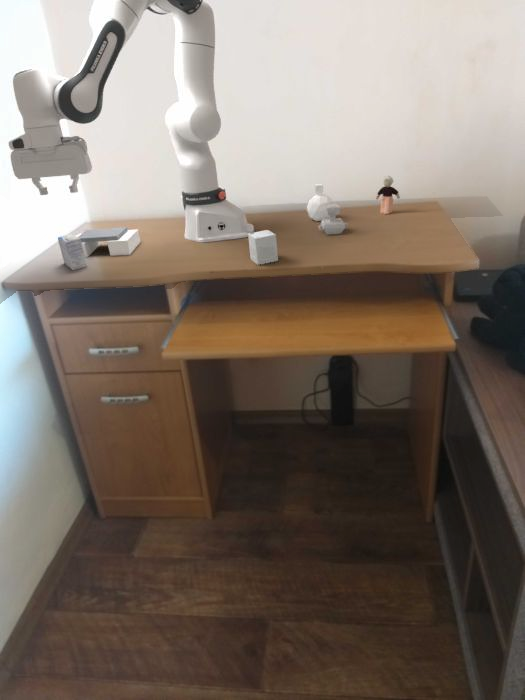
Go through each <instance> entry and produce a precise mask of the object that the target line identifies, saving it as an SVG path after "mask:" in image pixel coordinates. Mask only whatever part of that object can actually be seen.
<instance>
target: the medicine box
mask: <svg viewBox="0 0 525 700" xmlns="http://www.w3.org/2000/svg"><path fill="white" fill-rule="evenodd" d="M76 236H77V235H74V234H72V233H70V234H65V235H61V236H58V237H57V241H58V245H59V247H60V251H61V256H62V259H63V263H64V264H65V265H66V267H68V268H70V269H71V270H72V271H74V270H78V269H82V268H86V267H88V263H87V259H86V257H85V255H84V251H83V247H82V244H81V240H80V239H79V238H78V237H76Z"/></svg>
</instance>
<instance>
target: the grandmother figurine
mask: <svg viewBox="0 0 525 700" xmlns="http://www.w3.org/2000/svg"><path fill="white" fill-rule="evenodd" d="M382 182H383V187H381V188H380V189H379V191H377V194H376V196H375V199H376V200H379V199H380V196H381V195H382V196H381V200H380V202H381V203H380V212H379V214H380V215H381V214H382V213H384V214H382V215H390V214H389V213H391V214H392V213H393V208H394V203H393V202H394V201H393V200H394V197H393V195H395V197H396V199H400V198H401V197H400V196H401V195H400V194H399V190H397V189H396V188H395V187H393V186H392V184H393V183H394V179H393V177H392V176H390V175H385V176H384V177H383V179H382Z"/></svg>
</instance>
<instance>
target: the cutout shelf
mask: <svg viewBox="0 0 525 700" xmlns="http://www.w3.org/2000/svg"><path fill="white" fill-rule="evenodd" d="M75 236H76V237H78V238H79V239H80V240H81V244H82V247H83V251H84V255H85V258H88V257H89V256H90V255H91V254H92V253H93V252H95V250H96V249H98V247H100V246H101V242H107V246H108V251H109V255H110V256H113V257H114V256H129V255H131V254H132V253H133V252H134V251H135V249H136V248H138V245H140V243H141V238H140V233H139V229H128V227H126V226H124V227H112V228H110V227H109V228H97V229H95V228H94V229H86V230H84V231H83V232H82V233H78V234H77V235H75Z"/></svg>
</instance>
